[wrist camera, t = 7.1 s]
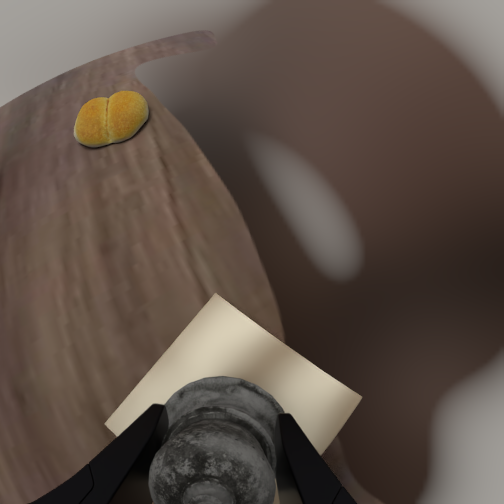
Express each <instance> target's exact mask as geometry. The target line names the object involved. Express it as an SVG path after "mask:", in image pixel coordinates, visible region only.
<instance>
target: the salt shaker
mask: <svg viewBox="0 0 504 504" xmlns="http://www.w3.org/2000/svg"><path fill="white" fill-rule="evenodd" d="M164 405H165V406H166V409H167V413H168V418H169V427H168V430H167V432H166V434H165V436H164V438H163V441H162V444H161V448H160V450H159V451H158V452H157V453H156V454H155V457H154V459H153V461H152V464H151V466H150V471H149V483H148V484H149V489H150V494H151V498H152V500H153V502H154V503H155V504H273V502H274V498H275V491H276V483H275V479H276V476H275V472H276V465H277V456H276V450H275V425H276V419H277V415H278V413H285V412H284V410H283V408H282V407H281V406H280V404H279V403H278V402H277V401H276V400H275V399H274V397H273V396H272V395H271V394H269V393H268V392H266V391H265V390H264V389H262V388H261V387H259V386H258V385H256V384H253V383H251V382H248V381H246V380H243V379H241V378H234V377H227V376H217V377H206V378H202V379H199V380H197V381H194V382H191V383H188V384H187V385H185V386H184V387H182V388H181V389H179V390H178V391H176V392H175V393H174V394H173V395H172V396H171V397H170V398H169V400H168V401H167V402H166V403H165V404H164Z"/></svg>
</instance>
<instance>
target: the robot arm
mask: <svg viewBox="0 0 504 504" xmlns="http://www.w3.org/2000/svg"><path fill="white" fill-rule="evenodd" d="M168 427H169V418H168V413H167V409H166V406H165V405H164V404H157V403H154V404H152V405H151V406H150V407H149V408H148V409H147V410H145V411H144V412H143V413H142V414H141V415H140V416H139V417H138V418H137V419H136V420H135V421H134V422H133V423H132V424H131V425H130V426H128V427H127V428H126V429H125V430H124V431H123V432H122V433H121V434H120V435H119V436H118V437H117V438H115V439H114V440H113V441H112V442H111V443H110V444H109V445H108V446H107V447H106V448H105V449H103V450H102V451H101V452H100V453H99V454H98V455H97V456H96V457H95V458H93V459H92V460H91V461H90V462H89V464H87V465H85V466H84V467H83V468H82V469H81V470H80V471H78V472H77V473H76V474H75V475H74V476H72V477H71V478H70V479H68V480H67V481H65V482H64V483H63V484H61V485H60V486H58V487H56V488H55V489H53V490H52V491H50V492H49V493H47V494H45V495H44V496H42V497H40V498H39V499H37V500H35V501H33V502H31V503H28V504H152V501H153V500H152V498H151V494H150V489H149V484H148V483H149V471H150V466H151V464H152V461H153V459H154V457H155V454H156V453H157V452H158V451H159V450H160V448H161V444H162V441H163V438H164V436H165V434H166V432H167V430H168ZM275 450H276V456H277V465H276V472H275V476H276V483H277V489H278V496H279V502H280V504H357V503H356V501H355V500H354V499H353V498H352V497H351V495H350V494H349V493H348V492H347V490H346V489H345V488H344V487H343V486H342V484H341V483H340V481H339V480H338V479H337V477H336V476H335V475H334V473H333V472H332V471H331V469H330V468H329V467H328V465H327V464H326V463H325V461H324V460H323V458H322V457H321V456H320V454H319V453H318V452H317V450H316V449H315V447H314V446H313V445H312V443H311V442H310V440H309V439H308V438H307V436H306V435H305V433H304V432H303V430H302V429H301V428H300V426H299V425H298V423H297V422H296V420H295V419H294V417H293V416H292V415H291V414H290V413H278V415H277V419H276V425H275ZM341 486H342V487H341Z"/></svg>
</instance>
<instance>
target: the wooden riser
mask: <svg viewBox="0 0 504 504" xmlns="http://www.w3.org/2000/svg"><path fill="white" fill-rule="evenodd" d="M217 376H227V377H234V378H241V379H243V380H246V381H248V382H251V383H253V384H256V385H258V386H259V387H261V388H262V389H264V390H265V391H266V392H268V393H269V394H271V395H272V396H273V397H274V399H275V400H276V401H277V402H278V403H279V404H280V406H281V407H282V408H283V410H284V412H285V413H290V414H291V415H292V416H293V417H294V419H295V420H296V422H297V423H298V425H299V426H300V428H301V429H302V430H303V432H304V433H305V435H306V436H307V438H308V439H309V440H310V442H311V443H312V445H313V446H314V447H315V449H316V450H317V452H318V453H319V454H320V456H321V455H322V453H323V452H324V451H325V450H326V448H327V447H328V446H329V444H330V443H331V442H332V440H333V439H334V438H335V436H336V435H337V433H338V432H339V431H340V429H341V428H342V426H343V425H344V424H345V422H346V421H347V419H348V418H349V416H350V415H351V414H352V412H353V410H354V409H355V408H356V406H357V405H358V403H359V401H360V400H361V398H362V397H361V396H360V395H358V394H357V393H355V392H354V391H352V390H351V389H349V388H348V387H346V386H345V385H343V384H342V383H340V382H339V381H337V380H336V379H334V378H333V377H331V376H330V375H328V374H327V373H325V372H323V371H322V370H321V369H319V368H318V367H317V366H315V365H313V364H312V363H311V362H309V361H308V360H306V359H305V358H303V357H302V356H301V355H299V354H298V353H296V352H294V350H292V349H291V348H289V347H288V346H286V345H285V344H284V343H282V342H281V341H279V340H278V339H277V338H275V337H274V336H273V335H271V334H270V333H268V332H267V331H266V330H264V329H263V328H262V327H260V326H259V325H257V324H256V323H255V322H253V321H252V320H251V319H249V318H248V317H247V316H245V315H244V314H243V313H241V312H240V311H239V310H237V309H236V308H235V307H233V306H232V305H231V304H229V303H228V302H227V301H225V300H224V299H223V298H221V297H220V296H219V295H218V294H216V293H215V294H214V296H213V297H212V298H211V299H210V300H209V301H208V303H207V304H206V305H205V306H204V307H203V308H202V310H201V311H200V312H199V313H198V314H197V316H196V317H195V318H194V319H193V320H192V321H191V323H190V324H189V325H188V326H187V327H186V328H185V330H184V331H183V332H182V333H181V334H180V336H179V337H178V338H177V339H176V340H175V341H174V343H173V344H172V345H171V346H170V347H169V348H168V350H167V351H166V352H165V353H164V354H163V355H162V357H161V358H160V359H159V360H158V361H157V363H156V364H155V365H154V366H153V367H152V368H151V370H150V371H149V372H148V373H147V374H146V375H145V377H144V378H143V379H142V380H141V381H140V383H139V384H138V385H137V386H136V387H135V388H134V390H133V391H132V392H131V393H130V394H129V396H128V397H127V398H126V399H125V400H124V401H123V403H122V404H121V405H120V406H119V407H118V408H117V410H116V411H115V412H114V413H113V414H112V416H111V417H110V418H109V419H108V420H107V421H106V423H105V425H106V426H107V427H108V428H109V429H110V430H111V431H112V432H113V433H114V434H115V435H116V436H117V437H118V436H119V435H120V434H121V433H122V432H123V431H124V430H125V429H126V428H127V427H128V426H130V425H131V424H132V423H133V422H134V421H135V420H136V419H137V418H138V417H139V416H140V415H141V414H142V413H143V412H144V411H145V410H147V409H148V408H149V407H150V406H151V405H152V404H154V403H157V404H165V403H166V402H167V401H168V400H169V398H170V397H171V396H172V395H173V394H174V393H175V392H176V391H178V390H179V389H181V388H182V387H184V386H185V385H187V384H188V383H191V382H194V381H197V380H199V379H202V378H206V377H217ZM275 483H276V479H275ZM279 503H280V502H279V496H278V489H277V483H276V491H275V498H274V502H273V504H279Z"/></svg>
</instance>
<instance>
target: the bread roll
mask: <svg viewBox="0 0 504 504" xmlns="http://www.w3.org/2000/svg"><path fill="white" fill-rule="evenodd" d="M148 114H149V110H148V105H147V102H146V100H145V99H144V98H143V97H142V96H141V95H140V94H138V93H136V92H133V91H121V92H117V93H115V94H113V95H112V96H111V97H110V98H109V99H108V98H104V97H100V98H95V99H92V100H90V101H88V102H87V103H86V104H84V105H83V107H82V108H81V110H80V112H79V114H78V116H77V119H76V123H75V127H74V137H75V139H76V140H77V142H79V143H81V144H83V145H85V146H89V147H100V146H104V145H108V144H110V143H118V142H122V141H125V140H127V139H129V138H131V137H132V136H133V135H134V134H135V133H136V132H137V131H138V130H139V129H140V127H141V126H142V125H143V124H144V123H145V122H146V120H147V119H148Z"/></svg>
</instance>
